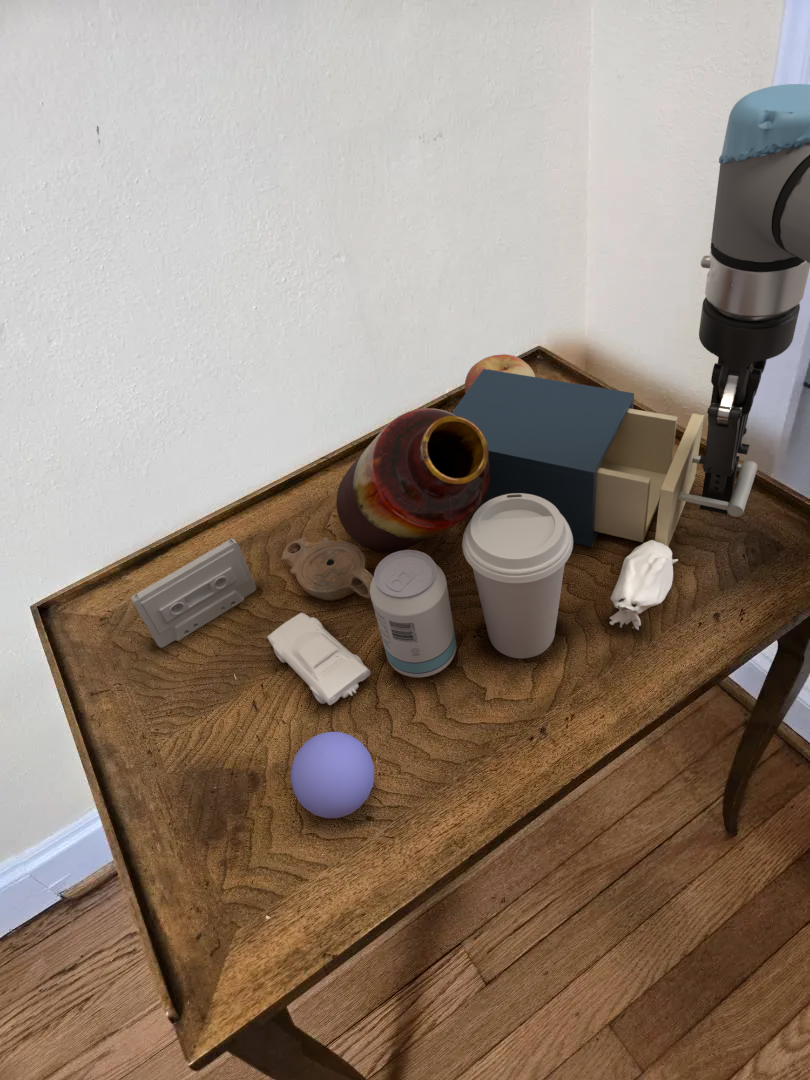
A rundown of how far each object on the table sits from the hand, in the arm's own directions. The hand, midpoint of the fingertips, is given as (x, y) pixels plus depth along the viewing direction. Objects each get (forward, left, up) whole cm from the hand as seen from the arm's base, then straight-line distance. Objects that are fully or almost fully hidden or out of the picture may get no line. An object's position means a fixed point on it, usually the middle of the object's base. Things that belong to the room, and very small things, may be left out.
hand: (714, 506), depth 83 cm
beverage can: (+22, +26, -3) cm, 34 cm away
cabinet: (+20, 0, -3) cm, 20 cm away
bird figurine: (+5, +11, -4) cm, 12 cm away
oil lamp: (+35, +21, -4) cm, 41 cm away
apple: (+29, -12, -4) cm, 31 cm away
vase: (+34, +11, 0) cm, 36 cm away
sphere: (+22, +42, -4) cm, 47 cm away
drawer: (+8, 0, -2) cm, 9 cm away
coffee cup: (+14, +20, -3) cm, 24 cm away
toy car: (+31, +31, -4) cm, 43 cm away
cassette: (+46, +30, -4) cm, 55 cm away
